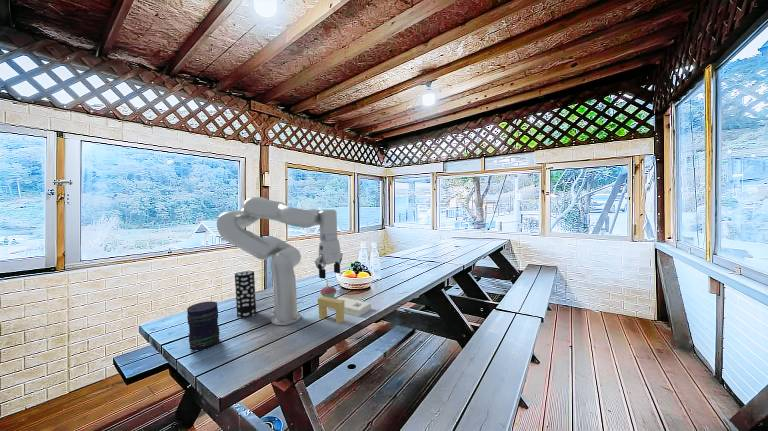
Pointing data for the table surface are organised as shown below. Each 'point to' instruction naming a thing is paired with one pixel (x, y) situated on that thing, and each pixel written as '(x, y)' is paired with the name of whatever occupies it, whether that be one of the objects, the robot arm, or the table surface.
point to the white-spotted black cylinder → (245, 294)
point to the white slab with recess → (354, 306)
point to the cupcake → (328, 291)
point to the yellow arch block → (333, 304)
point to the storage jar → (203, 325)
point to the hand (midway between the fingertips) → (330, 275)
